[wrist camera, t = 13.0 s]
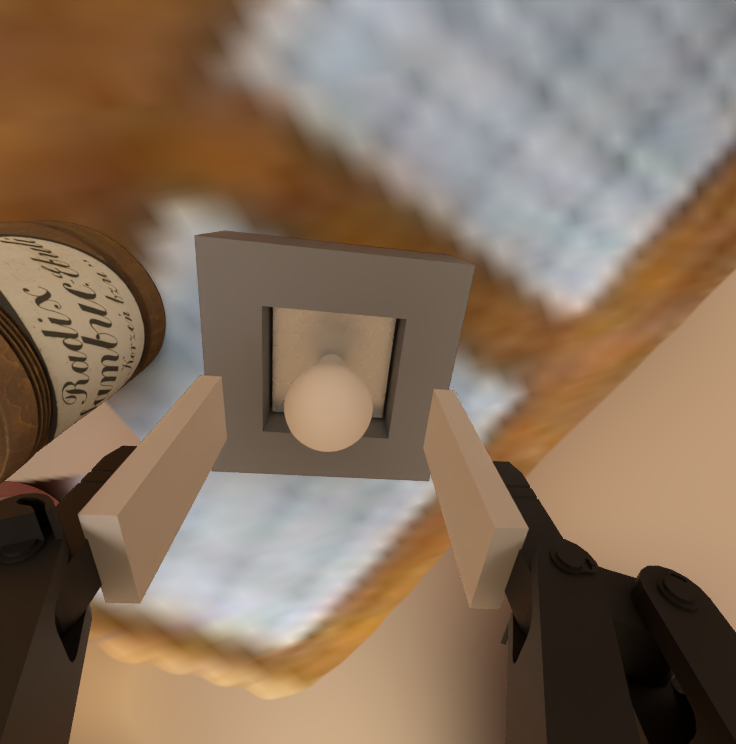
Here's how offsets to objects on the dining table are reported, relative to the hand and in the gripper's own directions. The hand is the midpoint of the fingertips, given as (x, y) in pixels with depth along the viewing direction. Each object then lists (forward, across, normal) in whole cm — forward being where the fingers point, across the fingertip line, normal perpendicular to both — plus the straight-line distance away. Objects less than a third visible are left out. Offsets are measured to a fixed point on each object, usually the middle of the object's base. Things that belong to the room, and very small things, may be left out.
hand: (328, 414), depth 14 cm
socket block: (+22, -1, -6) cm, 23 cm away
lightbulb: (+18, 0, -6) cm, 19 cm away
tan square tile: (+21, -1, -6) cm, 22 cm away
